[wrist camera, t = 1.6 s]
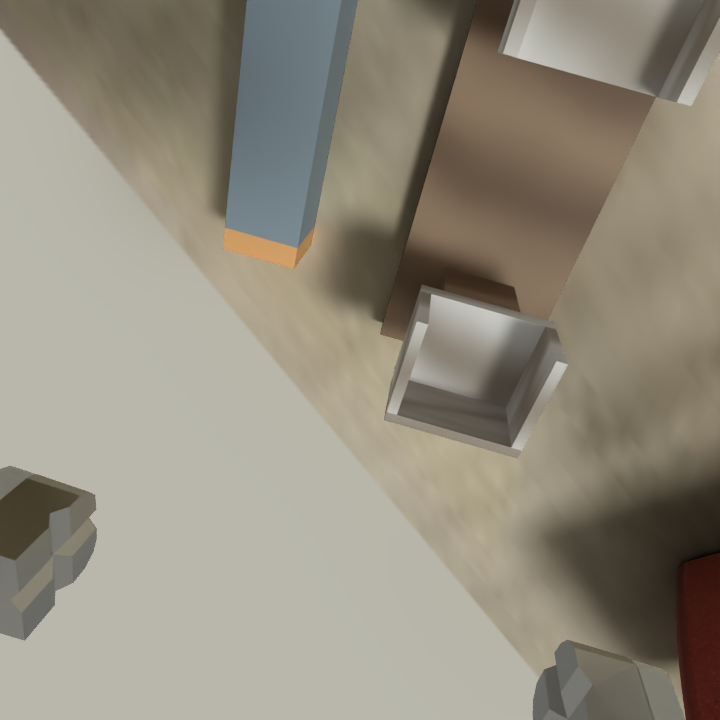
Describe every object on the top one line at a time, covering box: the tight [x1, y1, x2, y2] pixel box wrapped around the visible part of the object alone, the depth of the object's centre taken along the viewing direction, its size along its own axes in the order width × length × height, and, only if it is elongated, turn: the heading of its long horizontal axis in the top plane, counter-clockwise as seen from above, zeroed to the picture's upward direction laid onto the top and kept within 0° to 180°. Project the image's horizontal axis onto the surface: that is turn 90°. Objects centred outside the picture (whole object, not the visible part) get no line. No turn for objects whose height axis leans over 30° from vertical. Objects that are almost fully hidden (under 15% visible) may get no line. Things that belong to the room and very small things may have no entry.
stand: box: [380, 0, 720, 458], centre depth 24 cm, size 22×9×10 cm, turn 166°
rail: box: [223, 0, 358, 269], centre depth 25 cm, size 20×4×4 cm, turn 167°
